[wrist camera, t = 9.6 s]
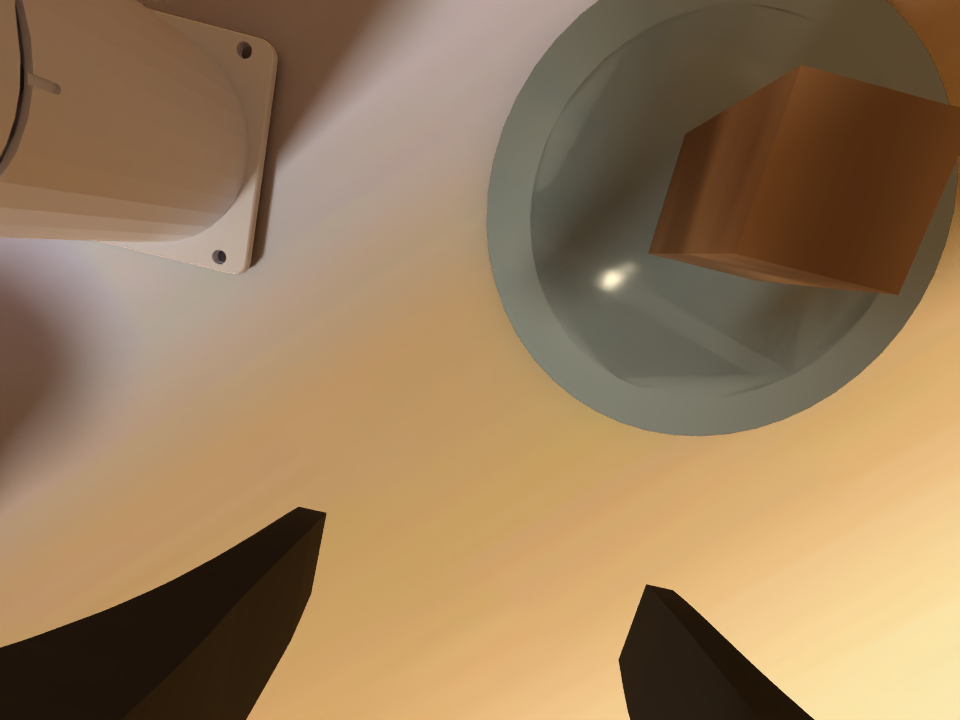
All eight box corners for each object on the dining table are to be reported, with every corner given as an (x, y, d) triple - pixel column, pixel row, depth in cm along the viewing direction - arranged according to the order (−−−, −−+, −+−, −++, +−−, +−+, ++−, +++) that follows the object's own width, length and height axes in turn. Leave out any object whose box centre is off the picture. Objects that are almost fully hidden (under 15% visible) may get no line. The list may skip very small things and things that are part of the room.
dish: (444, 374, 19) (441, 381, 18) (552, -87, 16) (557, -115, 14) (822, 464, 20) (843, 477, 19) (1005, 41, 16) (1045, 24, 15)
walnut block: (647, 253, 17) (734, 253, 11) (684, 134, 16) (800, 64, 10) (755, 280, 17) (898, 294, 11) (798, 163, 16) (977, 112, 10)
